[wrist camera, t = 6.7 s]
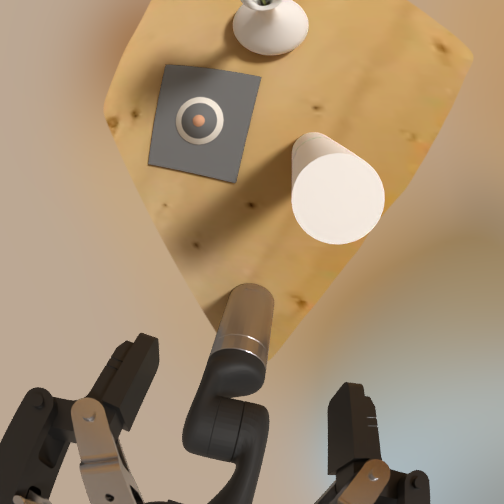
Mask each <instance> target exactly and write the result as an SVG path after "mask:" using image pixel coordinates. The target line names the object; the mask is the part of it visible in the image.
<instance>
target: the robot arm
mask: <svg viewBox="0 0 504 504" xmlns="http://www.w3.org/2000/svg"><path fill="white" fill-rule="evenodd" d="M273 310H274V299H273V297H272V295H271V293H270V292H269V291H268V290H267V289H265V288H264V287H262V286H259V285H256V284H242V285H240V286H237V287H236V288H234V289H233V291H232V292H231V294H230V296H229V299H228V302H227V305H226V308H225V311H224V314H223V317H222V320H221V323H220V326H219V329H218V332H217V335H216V338H215V341H214V344H213V347H212V350H211V353H210V356H209V359H208V362H207V365H206V368H205V371H204V374H203V377H202V380H201V383H200V385H199V388H198V390H197V393H196V395H195V398H194V400H193V402H192V405H191V407H190V410H189V413H188V415H187V418H186V421H185V424H184V428H183V434H182V442H183V446H184V448H185V449H186V450H187V451H188V452H190V453H193V454H196V455H200V456H204V457H208V458H212V459H216V460H221V461H226V462H230V461H231V462H232V463H235V464H236V469H235V472H234V474H233V475H232V477H231V479H230V480H229V481H228V483H227V484H226V485H225V487H224V488H223V489H222V490H221V491H220V492H219V493H218V494H217V495H216V496H215V497H214V498H213V499H212V500H211V501H210V502H209V503H208V504H252V501H253V497H254V493H255V489H256V485H257V481H258V477H259V473H260V469H261V465H262V461H263V456H264V452H265V447H266V443H267V438H268V431H269V414H268V411H267V409H266V408H265V407H264V406H262V405H259V404H255V403H250V402H246V401H245V402H244V401H241V400H236V399H231V398H233V397H239V396H247V395H250V394H253V393H255V392H257V391H258V390H259V389H260V388H261V387H262V385H263V383H264V380H265V373H266V365H267V358H268V350H269V342H270V334H271V326H272V318H273ZM158 365H159V344H158V338H155V337H152V336H149V335H146V334H144V333H140V334H139V336H138V337H137V338H136V340H135V342H134V343H132V342H129V341H125V342H124V343H122V344H121V345H120V346H118V347H117V348H116V350H115V351H114V353H113V355H112V356H111V359H109V361H108V363H107V365H106V366H105V368H104V369H103V371H102V373H101V374H100V376H99V378H98V379H97V381H96V383H95V384H94V386H93V388H92V389H91V391H90V392H89V394H88V395H87V396H86V397H84V398H81V399H79V400H75V401H72V400H66V399H61V398H56V397H52V395H51V394H50V393H49V392H48V391H47V390H46V389H44V388H39V387H37V388H33V389H31V390H29V391H28V392H27V394H26V395H25V397H24V399H23V401H22V402H21V404H20V406H19V408H18V410H17V411H16V413H15V415H14V417H13V419H12V421H11V423H10V425H9V426H8V429H7V430H6V432H5V435H4V436H3V439H2V441H1V443H0V504H52V503H51V502H50V501H49V497H50V493H51V491H52V488H53V485H54V483H55V480H56V477H57V475H58V472H59V469H60V467H61V464H62V462H63V459H64V457H65V454H66V452H67V449H68V447H69V445H70V442H73V443H77V446H78V450H79V454H80V457H81V463H80V472H81V476H82V479H83V482H84V485H85V488H86V492H87V494H88V497H89V500H90V503H91V504H181V503H178V502H175V501H172V500H168V502H160V501H158V502H148V503H145V502H144V500H143V498H142V495H141V493H140V491H139V489H138V486H137V484H136V482H135V480H134V478H133V476H132V474H131V472H130V469H129V467H128V464H127V461H126V458H125V455H124V453H123V450H122V447H121V444H120V440H119V435H120V432H121V430H122V429H124V430H126V431H130V429H131V427H132V424H133V422H134V420H135V417H136V415H137V413H138V411H139V409H140V406H141V404H142V402H143V399H144V397H145V395H146V393H147V391H148V389H149V387H150V385H151V382H152V380H153V378H154V376H155V374H156V371H157V369H158ZM328 475H336V481H334V483H332V485H331V486H330V487H329V488H328V489H327V491H325V493H324V494H323V495H322V496H321V497H320V498H319V499H318V500H317V501H316V502H315V503H314V504H430V487H429V479H428V476H427V475H426V474H425V473H424V472H423V471H419V470H416V471H412V472H411V473H409V474H406V473H402V472H398V471H394V470H391V469H389V467H388V465H387V464H386V463H385V462H384V461H382V458H381V453H380V443H379V434H378V427H377V419H376V410H375V406H374V404H373V402H372V400H371V398H370V397H366V396H365V395H364V388H363V385H362V384H356V383H348V382H345V383H344V384H343V385H342V386H341V388H340V389H339V390H338V391H337V393H336V394H335V395H334V397H333V398H332V399H331V401H330V403H329V406H328Z"/></svg>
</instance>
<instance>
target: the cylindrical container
mask: <svg viewBox="0 0 504 504" xmlns="http://www.w3.org/2000/svg"><path fill="white" fill-rule="evenodd" d="M384 201H385V199H384V189H383V185H382V182H381V180H380V178H379V176H378V174H377V173H376V171H375V170H374V169H373V168H372V166H370V165H369V164H368V163H367V162H365V161H364V160H363V159H361V158H360V157H358V156H357V155H355V154H354V153H352V152H351V151H349V150H348V149H346V148H345V147H343V146H342V145H340V144H338V143H337V142H335V141H334V140H332V139H330V138H329V137H327V136H326V135H323V134H321V133H317V132H310V133H306V134H304V135H302V136H300V137H299V138H298V139H297V140H296V142H295V143H294V145H293V149H292V207H293V212H294V215H295V217H296V220H297V221H298V223H299V225H300V226H301V228H302V229H303V230H304V231H305V232H306V233H307V234H309V235H310V236H312V237H313V238H315V239H317V240H319V241H321V242H325V243H329V244H346V243H350V242H353V241H356V240H358V239H360V238H362V237H364V236H365V235H366V234H367V233H369V232H370V231H371V230H372V229H373V228H374V226H375V225H376V224H377V222H378V220H379V219H380V217H381V214H382V211H383V207H384Z"/></svg>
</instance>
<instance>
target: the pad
mask: <svg viewBox="0 0 504 504" xmlns="http://www.w3.org/2000/svg"><path fill="white" fill-rule="evenodd" d="M260 81H261V77H259V76H254V75H249V74H243V73H237V72H231V71H225V70H218V69H210V68H202V67H192V66H181V65H166V66H165V70H164V75H163V79H162V84H161V89H160V94H159V99H158V104H157V110H156V115H155V121H154V127H153V134H152V141H151V148H150V155H149V163H148V164H151V165H156V166H161V167H166V168H171V169H176V170H180V171H185V172H190V173H194V174H199V175H203V176H207V177H212V178H216V179H220V180H224V181H228V182H233V183H236V181H237V176H238V172H239V167H240V163H241V159H242V154H243V150H244V146H245V142H246V137H247V133H248V129H249V125H250V121H251V117H252V113H253V109H254V105H255V101H256V97H257V93H258V89H259V85H260Z"/></svg>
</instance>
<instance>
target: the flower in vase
mask: <svg viewBox="0 0 504 504" xmlns="http://www.w3.org/2000/svg"><path fill="white" fill-rule="evenodd" d="M241 2H242V3H243V5H242V6H241V7H240V8H239V9H238V11H237V12H236V14H235V16H234V19H233V31H234V34H235V37H236V38H237V40H238V41H239V42H240V44H242V45H243V46H244V47H245V48H247V49H248V50H250V51H252V52H255V53H258V54H262V55H280V54H284V53H287V52H289V51H291V50H293V49H295V48H296V47H298V46H299V45H300V44H301V43H302V42H303V41H304V39H305V37H306V35H307V33H308V28H309V23H308V18H307V16H306V14H305V12H304V10H303V9H302V8H301V7H300V6H299V5H298V4H297V3H295V2H294V1H292V0H241Z"/></svg>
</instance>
